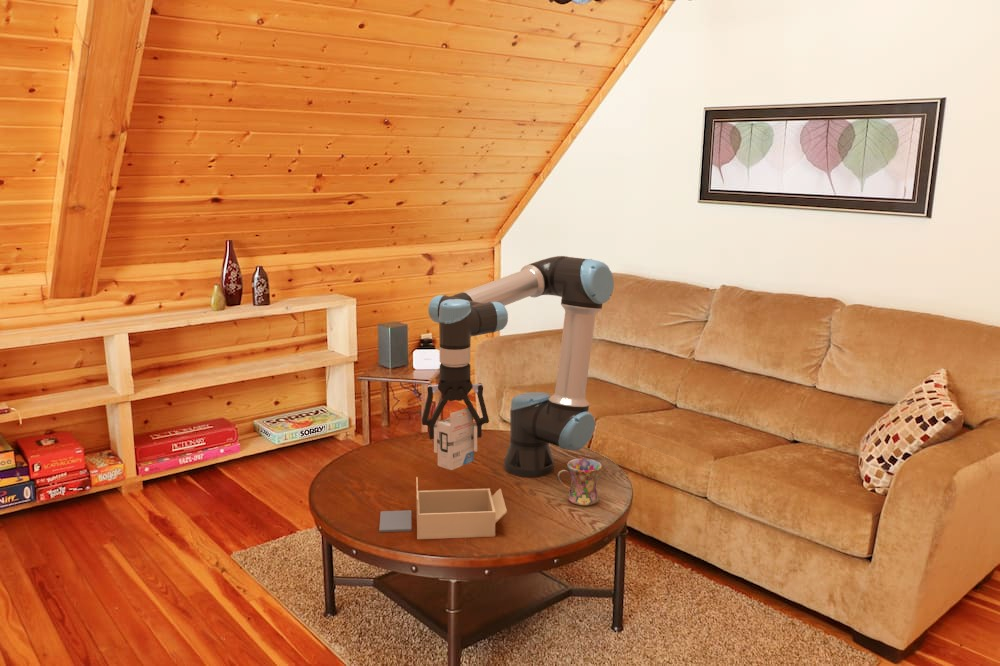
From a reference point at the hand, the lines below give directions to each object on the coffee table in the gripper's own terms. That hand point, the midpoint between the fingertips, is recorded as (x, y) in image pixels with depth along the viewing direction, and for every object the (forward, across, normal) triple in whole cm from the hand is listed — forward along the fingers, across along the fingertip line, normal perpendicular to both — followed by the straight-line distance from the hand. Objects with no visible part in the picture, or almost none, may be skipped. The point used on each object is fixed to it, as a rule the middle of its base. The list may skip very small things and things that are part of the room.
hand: (455, 450), depth 204 cm
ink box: (+4, 0, 0) cm, 4 cm away
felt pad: (+20, +15, -3) cm, 25 cm away
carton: (+20, -1, -1) cm, 20 cm away
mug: (+21, -34, -12) cm, 42 cm away
